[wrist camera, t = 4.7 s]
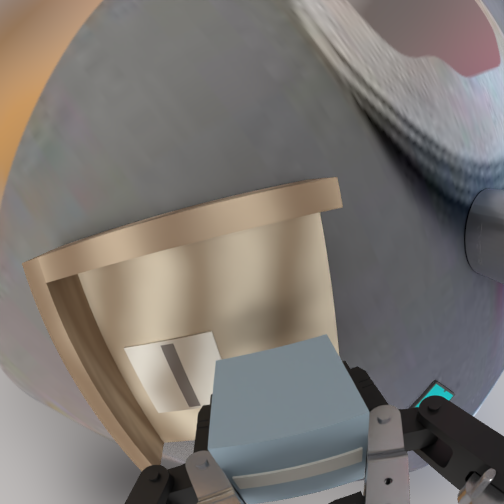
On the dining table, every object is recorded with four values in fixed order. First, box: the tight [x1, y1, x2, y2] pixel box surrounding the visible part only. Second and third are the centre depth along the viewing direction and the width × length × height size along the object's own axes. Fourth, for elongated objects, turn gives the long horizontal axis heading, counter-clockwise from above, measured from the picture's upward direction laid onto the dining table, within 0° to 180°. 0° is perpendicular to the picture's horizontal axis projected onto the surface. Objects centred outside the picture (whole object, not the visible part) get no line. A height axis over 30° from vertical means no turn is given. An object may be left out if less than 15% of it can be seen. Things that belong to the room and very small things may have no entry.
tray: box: [22, 177, 343, 471], centre depth 18 cm, size 19×20×5 cm
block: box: [208, 334, 370, 504], centre depth 10 cm, size 5×5×5 cm
